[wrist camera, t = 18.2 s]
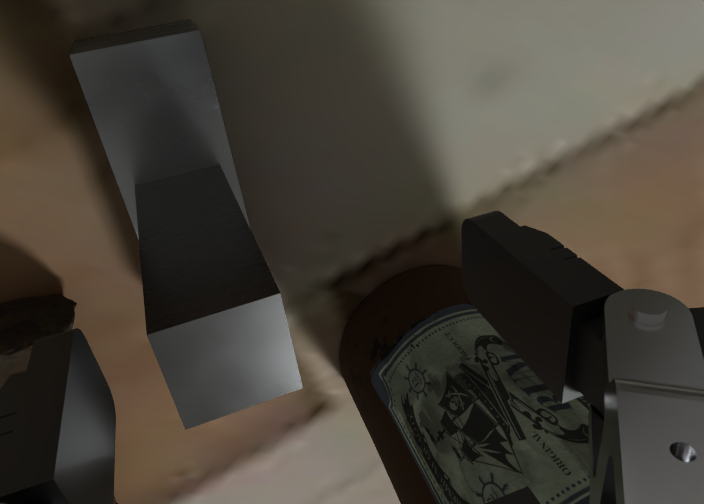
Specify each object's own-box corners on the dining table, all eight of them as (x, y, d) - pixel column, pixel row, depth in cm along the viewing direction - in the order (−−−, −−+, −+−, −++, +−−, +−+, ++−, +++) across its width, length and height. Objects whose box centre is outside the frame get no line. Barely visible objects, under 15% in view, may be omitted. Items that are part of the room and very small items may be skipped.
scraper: (189, 18, 21) (260, 93, 11) (259, 287, 27) (344, 490, 17) (74, 40, 20) (35, 143, 10) (174, 313, 26) (212, 544, 16)
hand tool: (-35, 296, 22) (-68, 371, 19) (75, 282, 24) (66, 349, 20) (63, 582, 32) (54, 672, 28) (139, 562, 33) (141, 645, 29)
